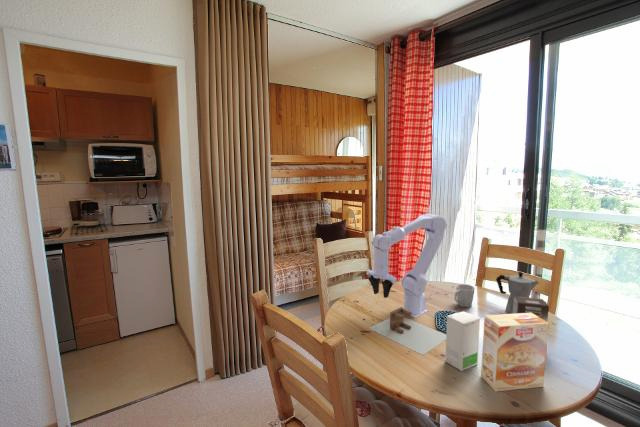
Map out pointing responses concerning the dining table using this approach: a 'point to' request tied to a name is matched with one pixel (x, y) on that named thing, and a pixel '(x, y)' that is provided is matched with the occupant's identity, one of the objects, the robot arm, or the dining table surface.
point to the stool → (398, 319)
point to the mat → (411, 335)
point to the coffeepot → (516, 288)
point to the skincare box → (462, 340)
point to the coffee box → (531, 306)
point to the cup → (464, 295)
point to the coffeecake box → (514, 351)
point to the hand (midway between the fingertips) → (381, 295)
